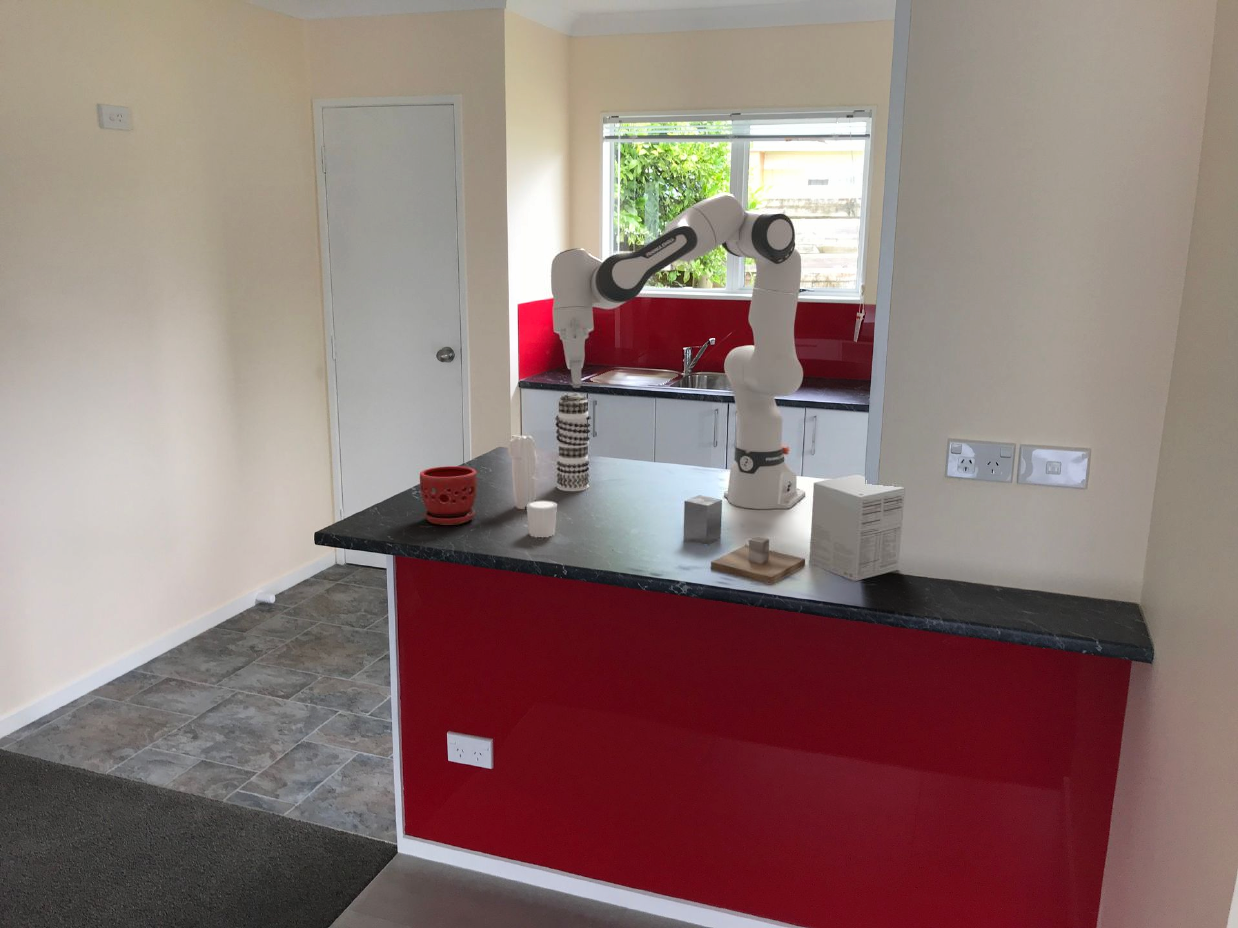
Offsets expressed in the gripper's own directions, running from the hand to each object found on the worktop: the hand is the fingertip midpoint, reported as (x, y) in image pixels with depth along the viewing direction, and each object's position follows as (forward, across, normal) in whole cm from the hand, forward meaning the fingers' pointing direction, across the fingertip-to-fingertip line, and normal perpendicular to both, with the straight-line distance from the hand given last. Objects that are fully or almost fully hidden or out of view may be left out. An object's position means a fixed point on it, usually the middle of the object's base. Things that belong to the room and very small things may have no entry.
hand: (577, 385), depth 214 cm
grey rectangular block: (+36, +1, -26) cm, 44 cm away
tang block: (+41, -17, -35) cm, 56 cm away
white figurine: (+27, +27, +14) cm, 41 cm away
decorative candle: (+23, +44, +2) cm, 50 cm away
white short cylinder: (+33, +6, +10) cm, 35 cm away
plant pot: (+29, +17, +32) cm, 46 cm away
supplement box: (+42, -17, -54) cm, 71 cm away
